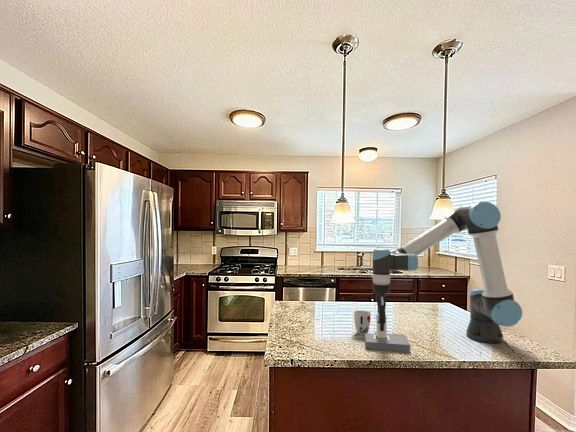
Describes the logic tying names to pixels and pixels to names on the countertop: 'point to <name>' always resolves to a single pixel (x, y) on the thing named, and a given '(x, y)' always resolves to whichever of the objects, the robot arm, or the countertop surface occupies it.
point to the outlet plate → (387, 343)
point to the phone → (394, 334)
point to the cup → (362, 321)
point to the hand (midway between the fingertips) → (381, 335)
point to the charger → (378, 325)
